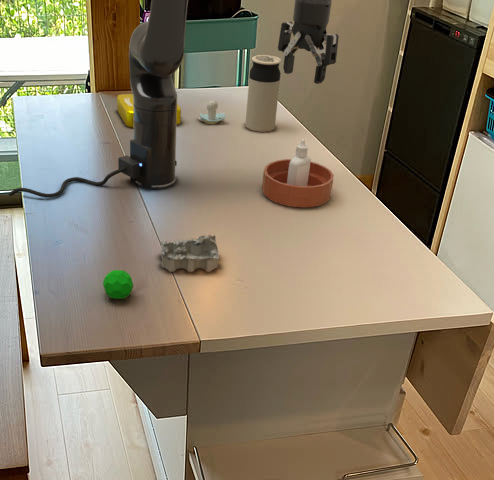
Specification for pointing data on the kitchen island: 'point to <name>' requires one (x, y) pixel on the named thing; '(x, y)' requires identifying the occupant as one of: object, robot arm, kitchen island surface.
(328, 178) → the bowl
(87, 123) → the kitchen island surface
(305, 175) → the eye dropper bottle
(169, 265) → the egg carton
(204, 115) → the pacifier
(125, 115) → the element tile
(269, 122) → the travel mug
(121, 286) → the polyhedron
